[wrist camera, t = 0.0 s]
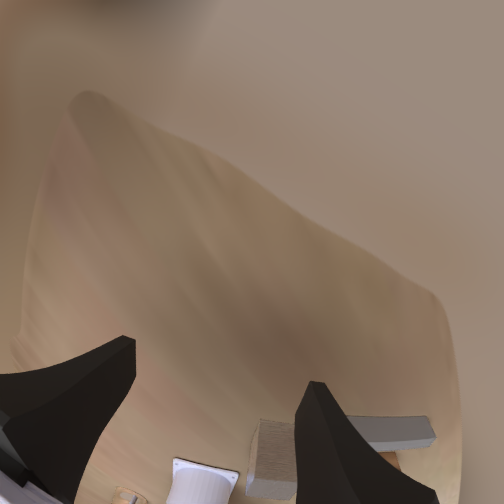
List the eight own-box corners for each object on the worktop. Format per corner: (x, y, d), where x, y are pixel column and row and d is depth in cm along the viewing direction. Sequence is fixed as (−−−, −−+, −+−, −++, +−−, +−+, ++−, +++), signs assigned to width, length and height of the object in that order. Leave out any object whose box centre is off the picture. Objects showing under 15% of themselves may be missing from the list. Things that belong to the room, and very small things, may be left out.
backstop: (419, 425, 23) (429, 446, 20) (340, 425, 23) (345, 451, 20) (426, 416, 23) (436, 437, 19) (346, 415, 23) (352, 442, 20)
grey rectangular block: (289, 446, 25) (289, 500, 18) (251, 441, 25) (244, 495, 18) (300, 424, 24) (303, 482, 17) (260, 419, 24) (254, 478, 17)
